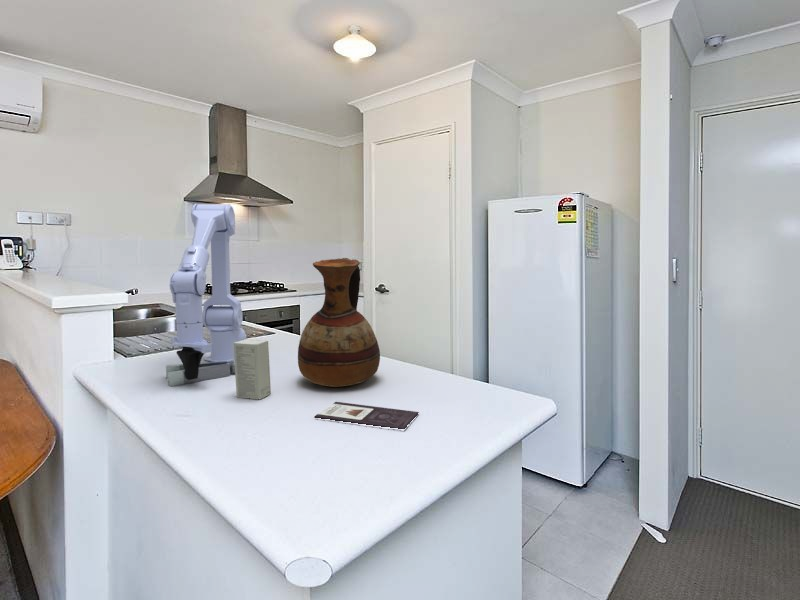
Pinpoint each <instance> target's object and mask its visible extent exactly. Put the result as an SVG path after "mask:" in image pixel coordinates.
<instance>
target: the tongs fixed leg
mask: <svg viewBox="0 0 800 600" xmlns="http://www.w3.org/2000/svg"><path fill="white" fill-rule="evenodd" d="M226 363H228V364H230V376H235V360H232V361H229V362H227V361H218V362H211V361H206V362H200V365H199V368H200V367H206V366H213V365H219V364H226ZM180 370H185V369H184V366H183V364H182V363H177V364H166V365H165V371H166V373H165V376H166V379H168V372H174V371H180Z"/></svg>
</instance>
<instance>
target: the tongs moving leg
mask: <svg viewBox="0 0 800 600" xmlns="http://www.w3.org/2000/svg"><path fill="white" fill-rule="evenodd" d="M230 376H231V375H230V364H228V362H227V363H226V364H219V365H213V366H206V367H200V368H199V372H198V378H196V379H192V380H188V379H187V378H186V375H185V370H180V371H174V372H168V378H167V384H168V386H169V387H174V386H180V385H184V384H190V383H191V384H192V383H196V382H203V381H209V380H214V379H221V378H225V377H230Z"/></svg>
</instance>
